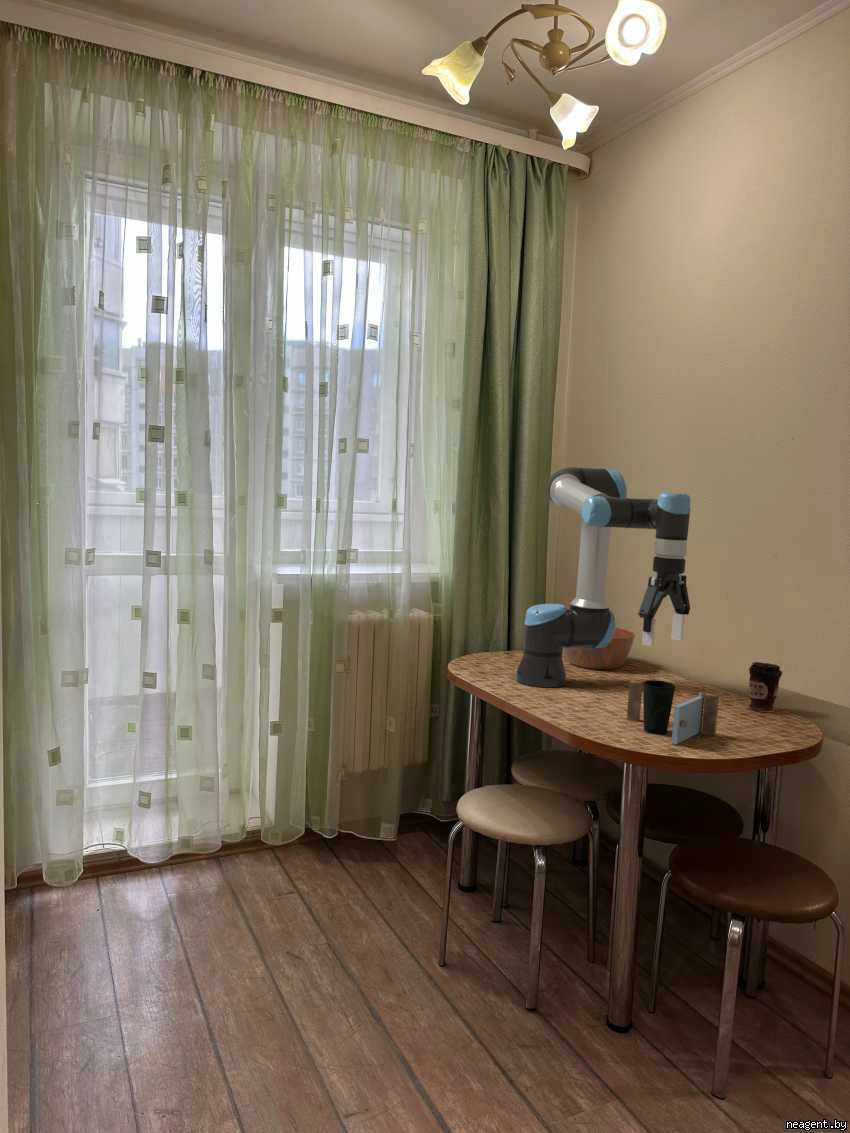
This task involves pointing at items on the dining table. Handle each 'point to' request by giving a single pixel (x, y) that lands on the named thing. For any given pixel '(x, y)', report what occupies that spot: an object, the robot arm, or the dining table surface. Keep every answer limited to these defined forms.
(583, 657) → the bowl
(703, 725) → the door frame
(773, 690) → the coffee cup
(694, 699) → the door
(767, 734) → the dining table surface
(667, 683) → the cup
